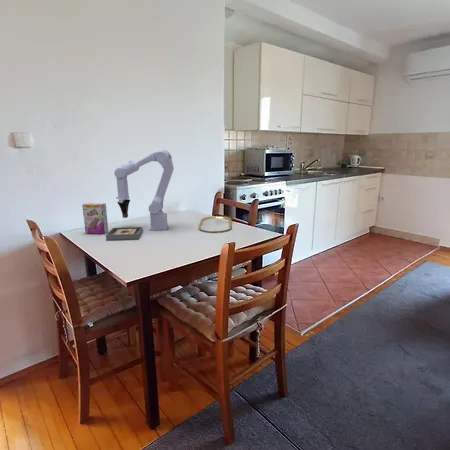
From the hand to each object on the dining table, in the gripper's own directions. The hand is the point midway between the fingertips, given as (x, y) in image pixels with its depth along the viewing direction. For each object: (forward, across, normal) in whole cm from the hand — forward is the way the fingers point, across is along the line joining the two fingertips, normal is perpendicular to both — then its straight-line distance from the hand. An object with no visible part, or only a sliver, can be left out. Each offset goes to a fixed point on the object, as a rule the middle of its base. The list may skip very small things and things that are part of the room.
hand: (125, 213), depth 185 cm
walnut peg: (+2, 0, 0) cm, 2 cm away
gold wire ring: (+10, -3, +52) cm, 53 cm away
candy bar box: (+9, +8, -14) cm, 19 cm away
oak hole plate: (+9, +16, +3) cm, 19 cm away
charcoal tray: (+9, +16, +3) cm, 19 cm away
